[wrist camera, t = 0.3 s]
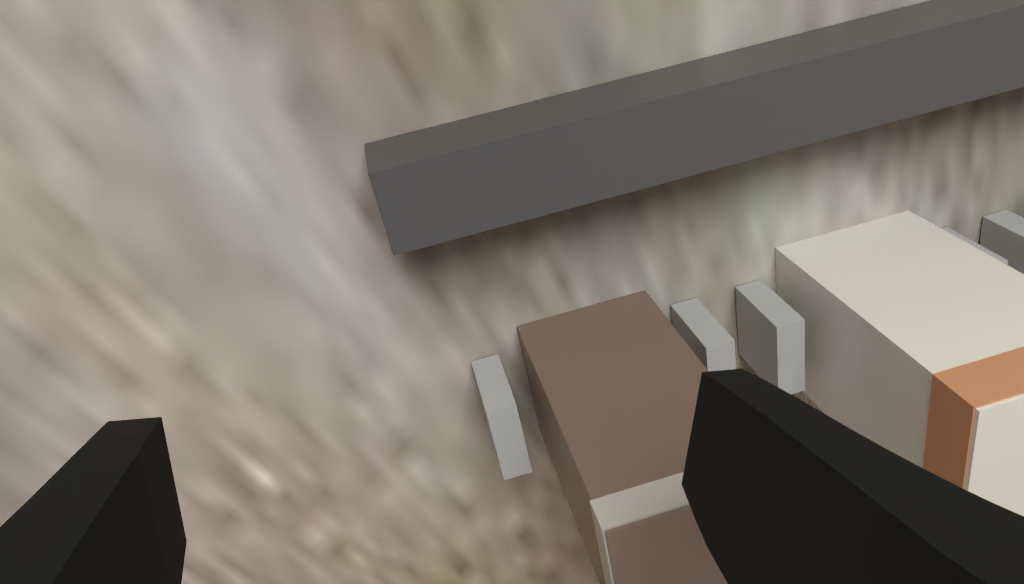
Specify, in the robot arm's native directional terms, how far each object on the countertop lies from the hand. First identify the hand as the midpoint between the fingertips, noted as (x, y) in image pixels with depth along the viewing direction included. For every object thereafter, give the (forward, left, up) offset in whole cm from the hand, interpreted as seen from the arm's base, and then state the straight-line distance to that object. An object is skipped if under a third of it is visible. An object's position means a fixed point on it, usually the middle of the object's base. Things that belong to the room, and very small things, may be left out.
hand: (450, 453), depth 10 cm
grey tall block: (-6, -12, -10) cm, 17 cm away
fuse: (-6, -4, -10) cm, 13 cm away
